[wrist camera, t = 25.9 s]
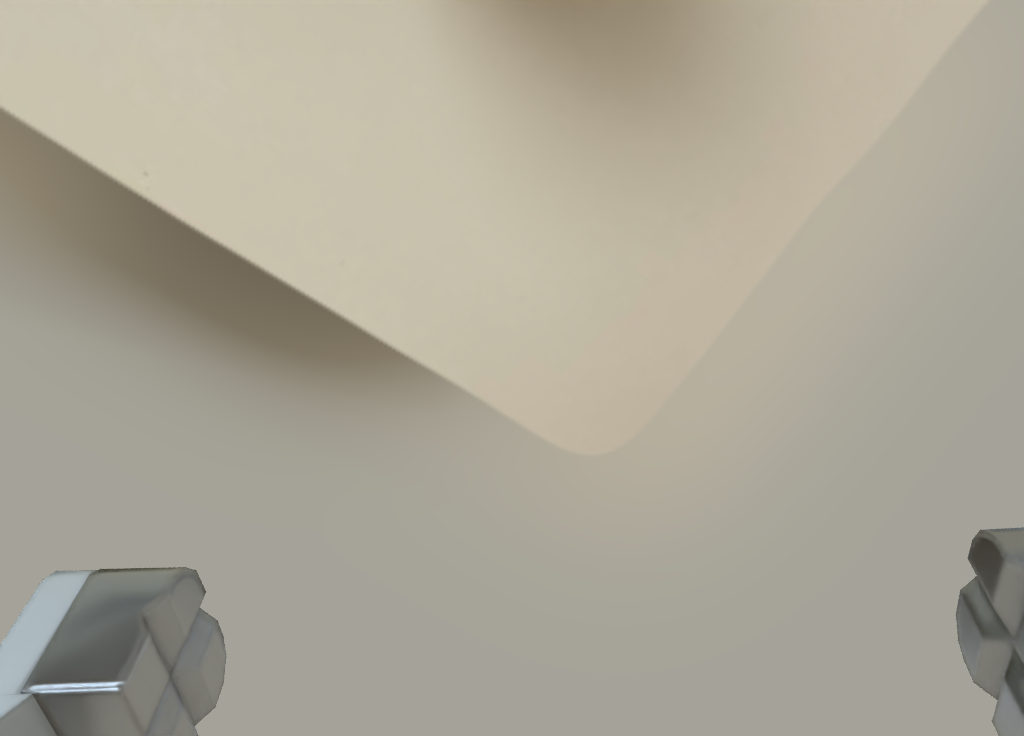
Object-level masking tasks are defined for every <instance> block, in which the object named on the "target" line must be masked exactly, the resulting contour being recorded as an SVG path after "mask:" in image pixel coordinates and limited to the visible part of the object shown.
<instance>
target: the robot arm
mask: <svg viewBox="0 0 1024 736" xmlns="http://www.w3.org/2000/svg"><path fill="white" fill-rule="evenodd" d="M968 560H969V562H970V564H971V565H972V567H973V569H974V571H975V573H976V575H977V576H976V577H975V578H974V579H973V580H972V581H970V582H969V583H968V584H967V585H966V586H965V587H963V588H962V589H961V590H960V595H959V600H958V606H957V611H956V621H957V633H958V641H959V645H960V648H961V652H962V655H963V659H964V662H965V664H966V666H967V669H968V671H969V673H970V675H971V677H972V680H973V682H974V683H975V684H976V685H978V686H979V687H980V688H982V689H983V690H985V691H986V692H987V693H989V694H990V695H991V696H993V697H994V698H995V699H997V700H998V702H997V705H996V709H995V713H994V716H993V720H992V723H993V725H994V727H995V729H996V731H997V733H998V735H999V736H1024V527H1023V528H1005V529H988V530H980V531H979V532H978V533H977V535H976V536H975V537H974V539H973V540H972V544H971V548H970V551H969V555H968ZM205 593H206V591H205V589H204V586H203V584H202V582H201V580H200V578H199V575H198V573H197V571H196V570H193V569H189V568H186V567H183V568H181V567H179V568H131V569H100V570H84V571H56V572H54V573H52V574H51V575H49V576H48V577H46V578H45V579H43V580H42V582H41V583H40V584H39V586H38V588H37V589H36V591H35V592H34V594H33V595H32V597H31V598H30V600H29V601H28V603H27V605H26V606H25V608H24V609H23V611H22V612H21V614H20V615H19V617H18V618H17V620H16V621H15V623H14V625H13V626H12V628H11V629H10V631H9V632H8V634H7V635H6V637H5V639H4V640H3V641H2V643H1V645H0V736H198V734H197V731H196V729H195V725H196V724H197V723H198V722H199V721H201V720H202V719H203V718H204V717H205V716H206V715H207V714H208V713H210V712H211V711H212V710H213V709H214V708H215V706H216V704H217V701H218V698H219V695H220V692H221V689H222V686H223V682H224V673H225V664H226V651H225V644H224V637H223V634H222V631H221V629H220V626H219V623H218V621H217V620H216V619H215V618H213V617H212V616H211V615H209V614H208V613H206V612H205V611H204V610H202V609H201V608H199V607H200V605H201V603H202V600H203V598H204V596H205Z"/></svg>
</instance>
